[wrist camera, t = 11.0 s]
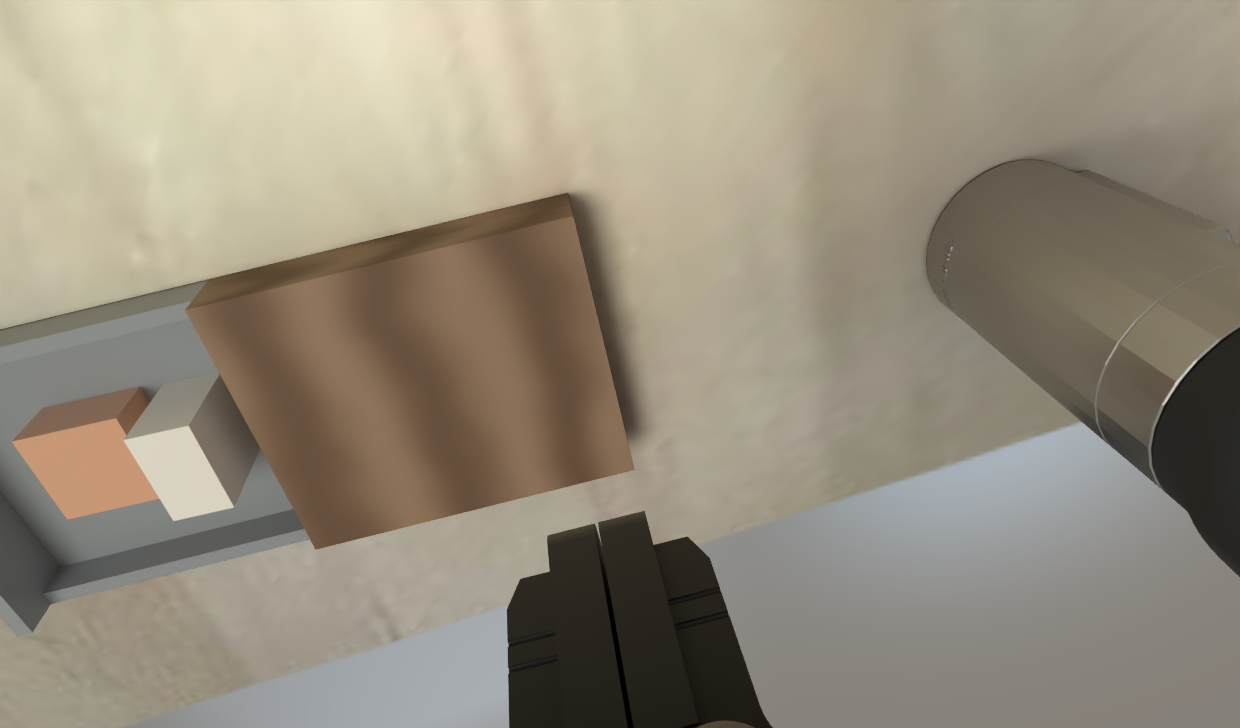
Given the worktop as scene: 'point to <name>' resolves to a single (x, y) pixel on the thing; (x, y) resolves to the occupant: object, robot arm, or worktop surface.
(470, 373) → the walnut board
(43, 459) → the terracotta tile
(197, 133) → the worktop surface
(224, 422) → the ivory square block
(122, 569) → the tray
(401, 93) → the worktop surface
